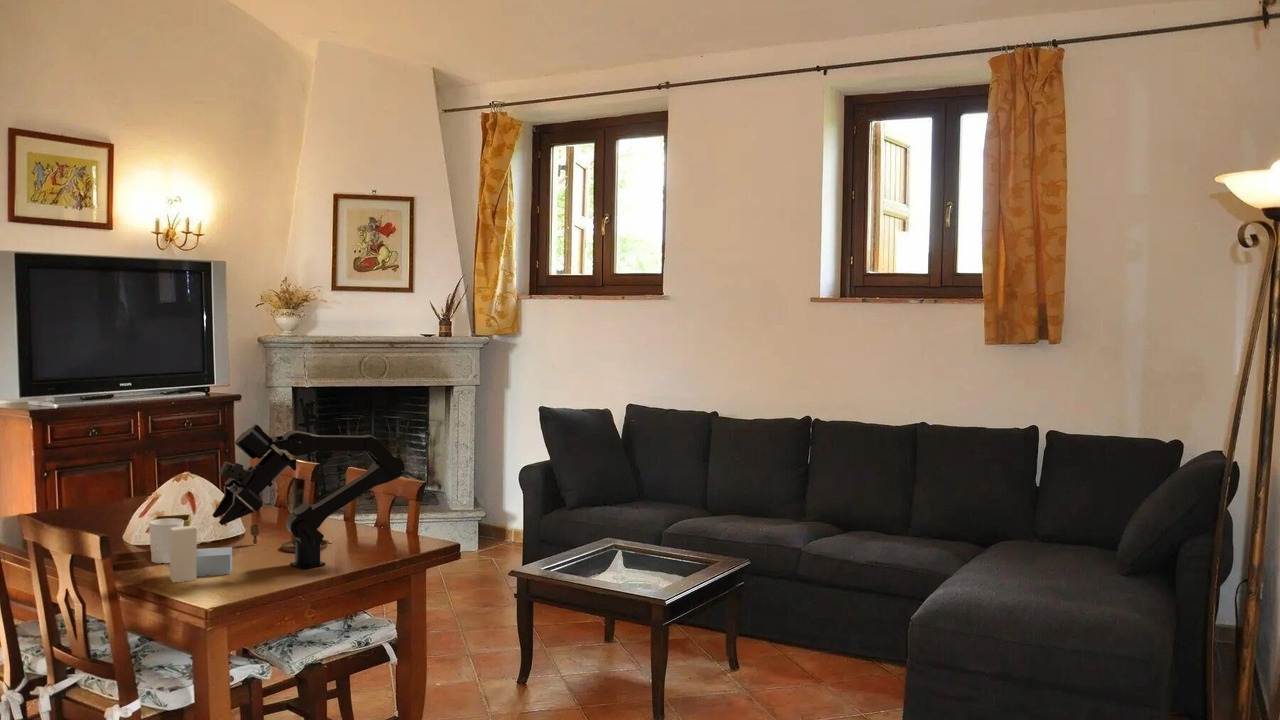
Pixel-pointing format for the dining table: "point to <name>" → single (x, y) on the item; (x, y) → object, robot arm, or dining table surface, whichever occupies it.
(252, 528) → the place setting
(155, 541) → the white cup
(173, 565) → the pillar
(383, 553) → the dining table surface
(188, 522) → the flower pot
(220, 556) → the base block
